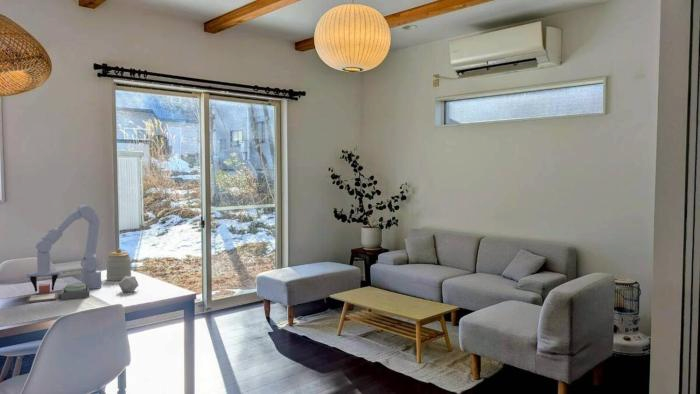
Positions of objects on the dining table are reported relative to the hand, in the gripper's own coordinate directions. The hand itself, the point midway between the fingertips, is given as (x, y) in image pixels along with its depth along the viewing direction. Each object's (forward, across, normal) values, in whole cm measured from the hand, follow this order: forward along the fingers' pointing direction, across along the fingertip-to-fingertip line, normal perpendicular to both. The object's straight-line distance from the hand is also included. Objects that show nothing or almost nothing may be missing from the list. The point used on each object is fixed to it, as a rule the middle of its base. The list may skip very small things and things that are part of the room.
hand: (44, 290), depth 244 cm
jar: (+2, -35, -21) cm, 41 cm away
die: (+2, -38, +14) cm, 41 cm away
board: (+1, 0, +11) cm, 11 cm away
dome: (-1, -14, +11) cm, 18 cm away
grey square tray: (+1, -14, +11) cm, 18 cm away
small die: (+2, 0, 0) cm, 2 cm away
